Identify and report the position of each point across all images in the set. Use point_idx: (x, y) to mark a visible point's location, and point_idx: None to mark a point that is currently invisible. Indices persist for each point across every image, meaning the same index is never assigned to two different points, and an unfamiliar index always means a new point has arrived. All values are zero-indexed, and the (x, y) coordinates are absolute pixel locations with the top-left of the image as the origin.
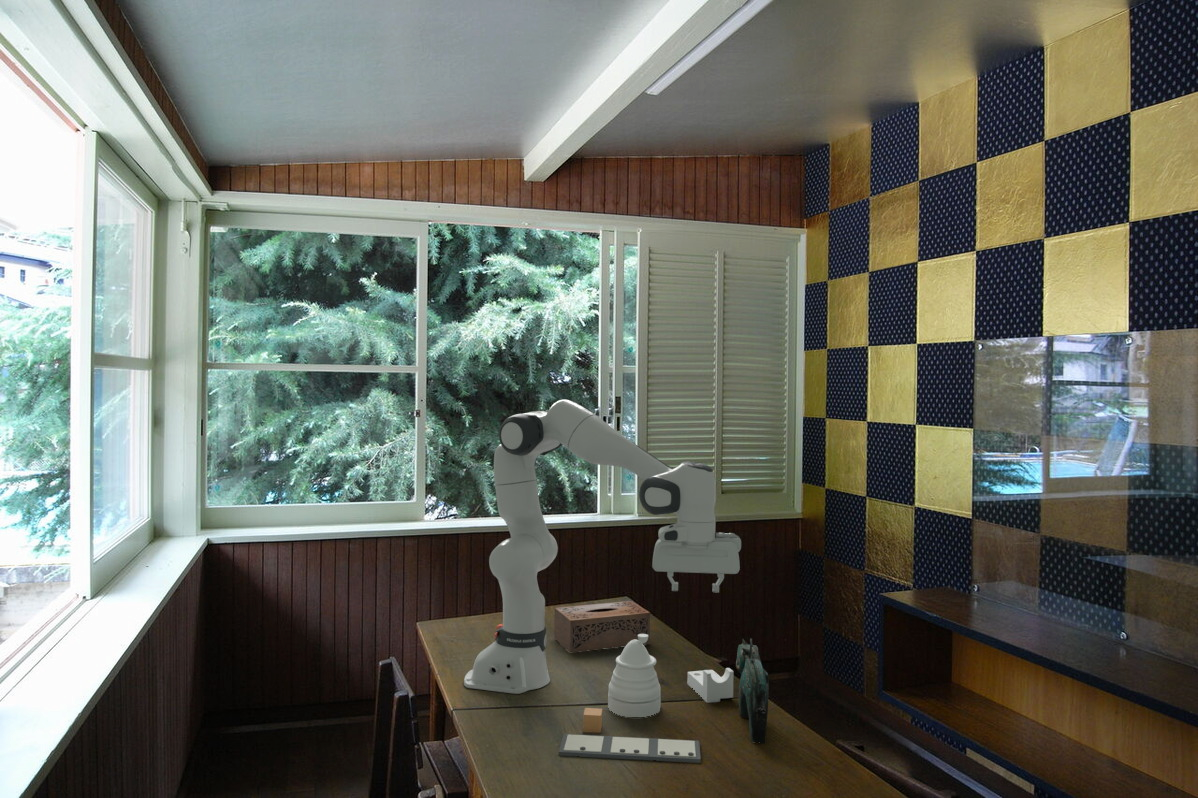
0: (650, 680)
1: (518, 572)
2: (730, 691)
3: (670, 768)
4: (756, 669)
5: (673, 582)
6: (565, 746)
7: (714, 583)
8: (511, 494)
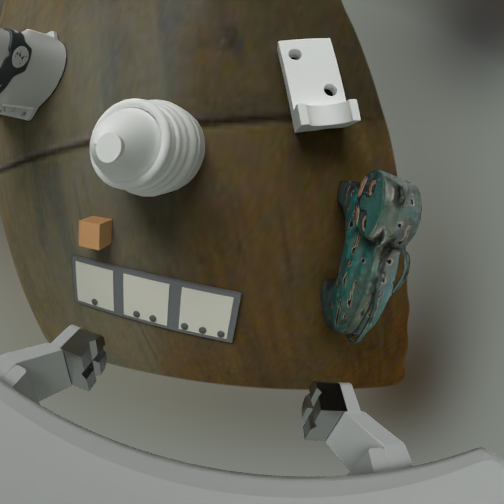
0: (163, 180)
1: None
2: (343, 126)
3: (193, 346)
4: (359, 340)
5: (62, 387)
6: (78, 293)
7: (332, 414)
8: None
